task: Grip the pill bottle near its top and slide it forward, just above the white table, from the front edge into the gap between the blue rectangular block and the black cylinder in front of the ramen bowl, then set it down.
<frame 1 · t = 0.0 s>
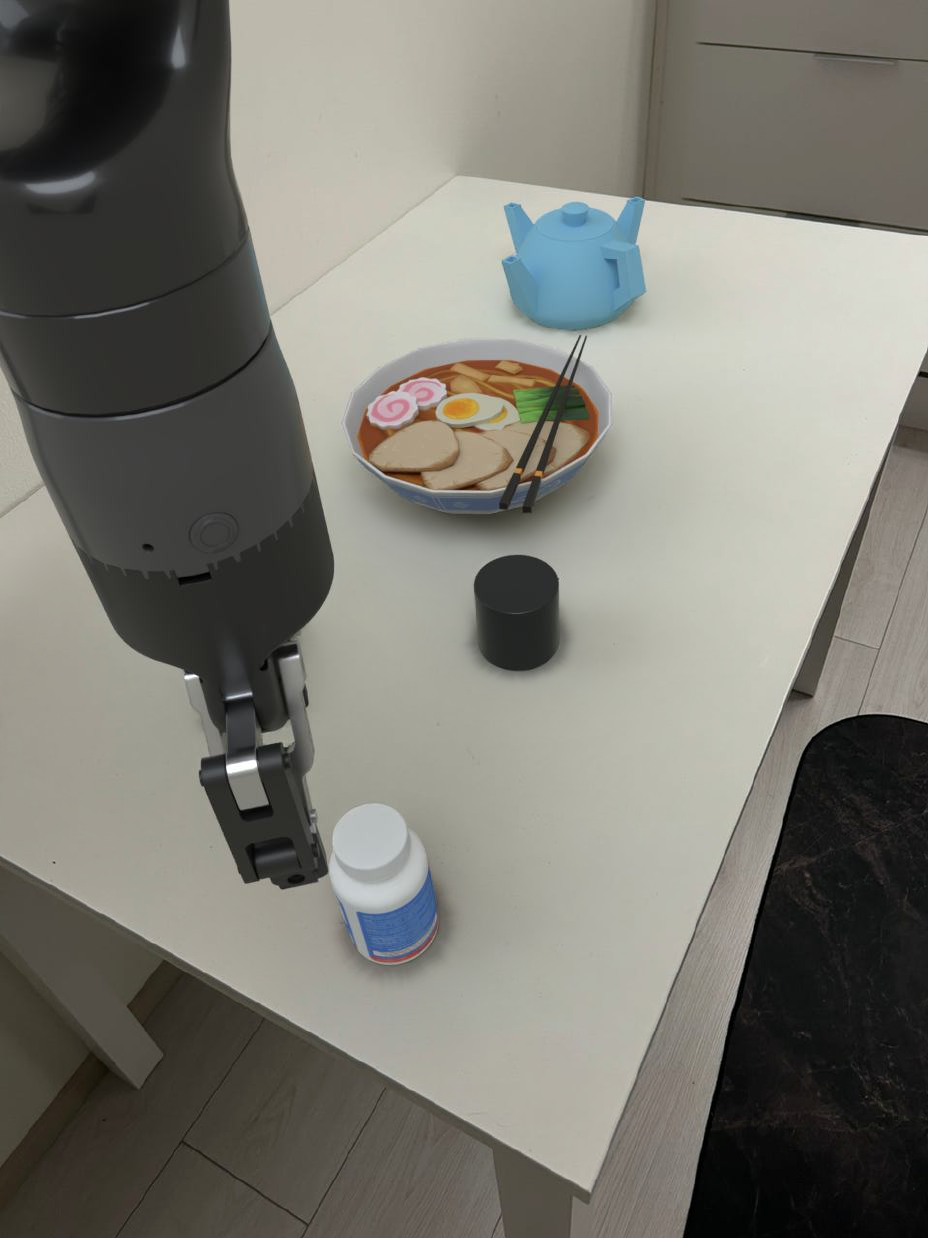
hand: (293, 785, 41), 20 cm above the table, tool pointing down, fingers open, 8 cm apart
ramen bowl: (481, 479, 87), on the table
blue rectangular block: (252, 668, 72), on the table
pill bottle: (394, 925, 58), on the table
teapot: (572, 304, 107), on the table
black cylinder: (518, 640, 73), on the table
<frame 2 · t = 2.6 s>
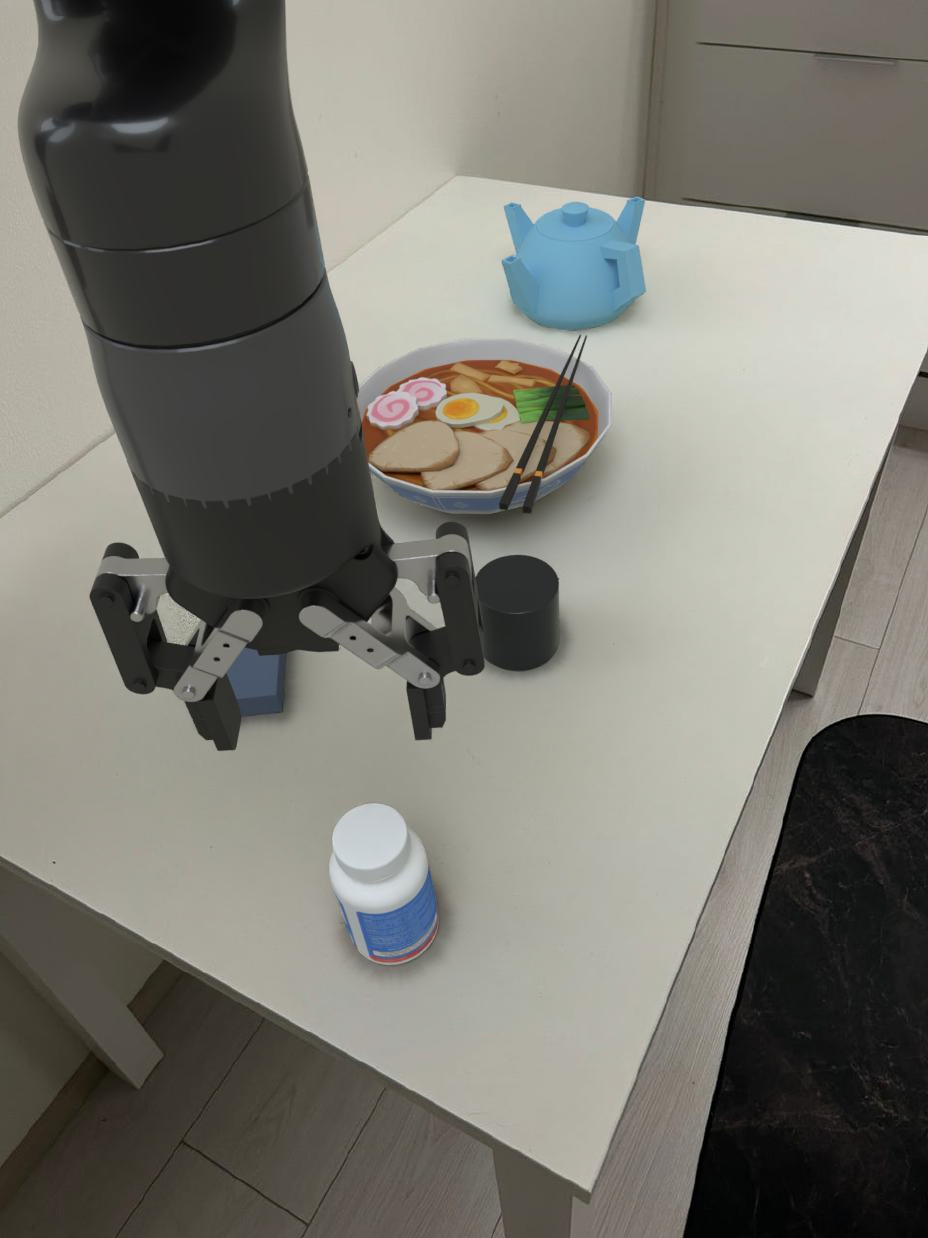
hand: (327, 729, 43), 20 cm above the table, tool pointing down, fingers open, 8 cm apart
nothing on the table moved.
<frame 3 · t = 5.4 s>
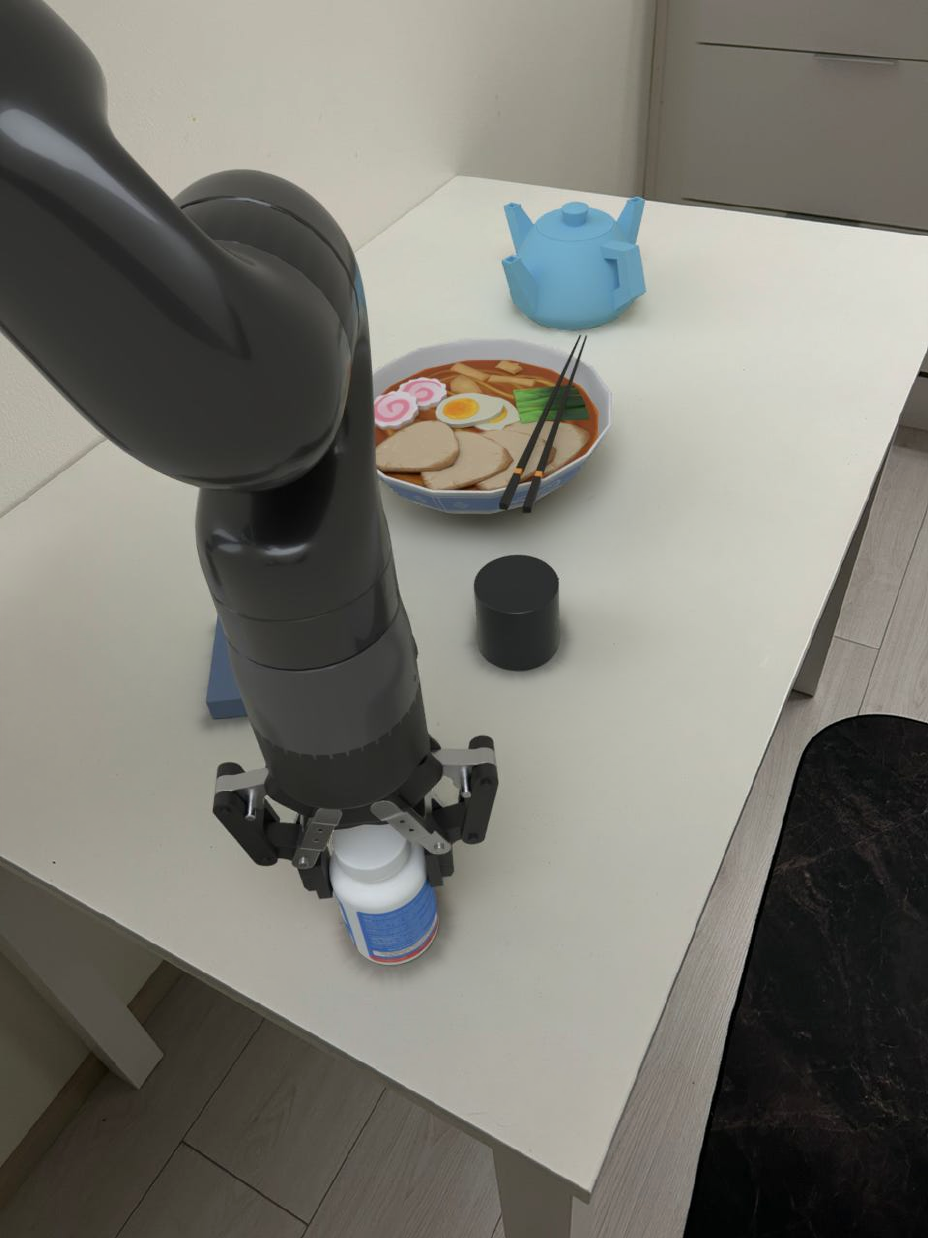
hand: (381, 877, 54), 5 cm above the table, tool pointing down, fingers closed on pill bottle, 5 cm apart
pill bottle: (394, 925, 58), on the table, touching gripper
everything else where it was.
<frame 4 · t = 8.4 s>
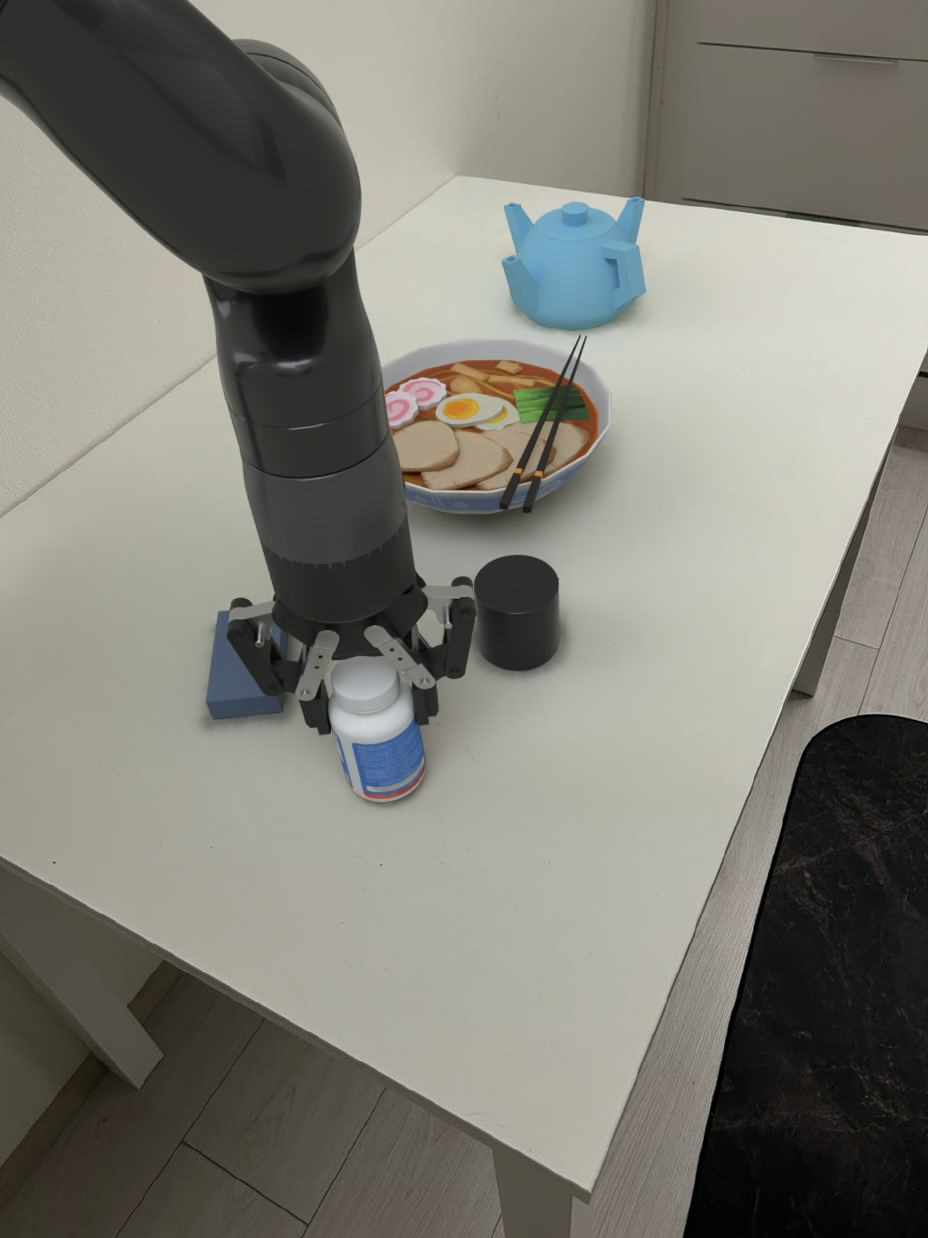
hand: (374, 718, 60), 6 cm above the table, tool pointing down, fingers closed on pill bottle, 5 cm apart
pill bottle: (386, 771, 64), point 1 cm above the table, touching gripper
everything else where it was.
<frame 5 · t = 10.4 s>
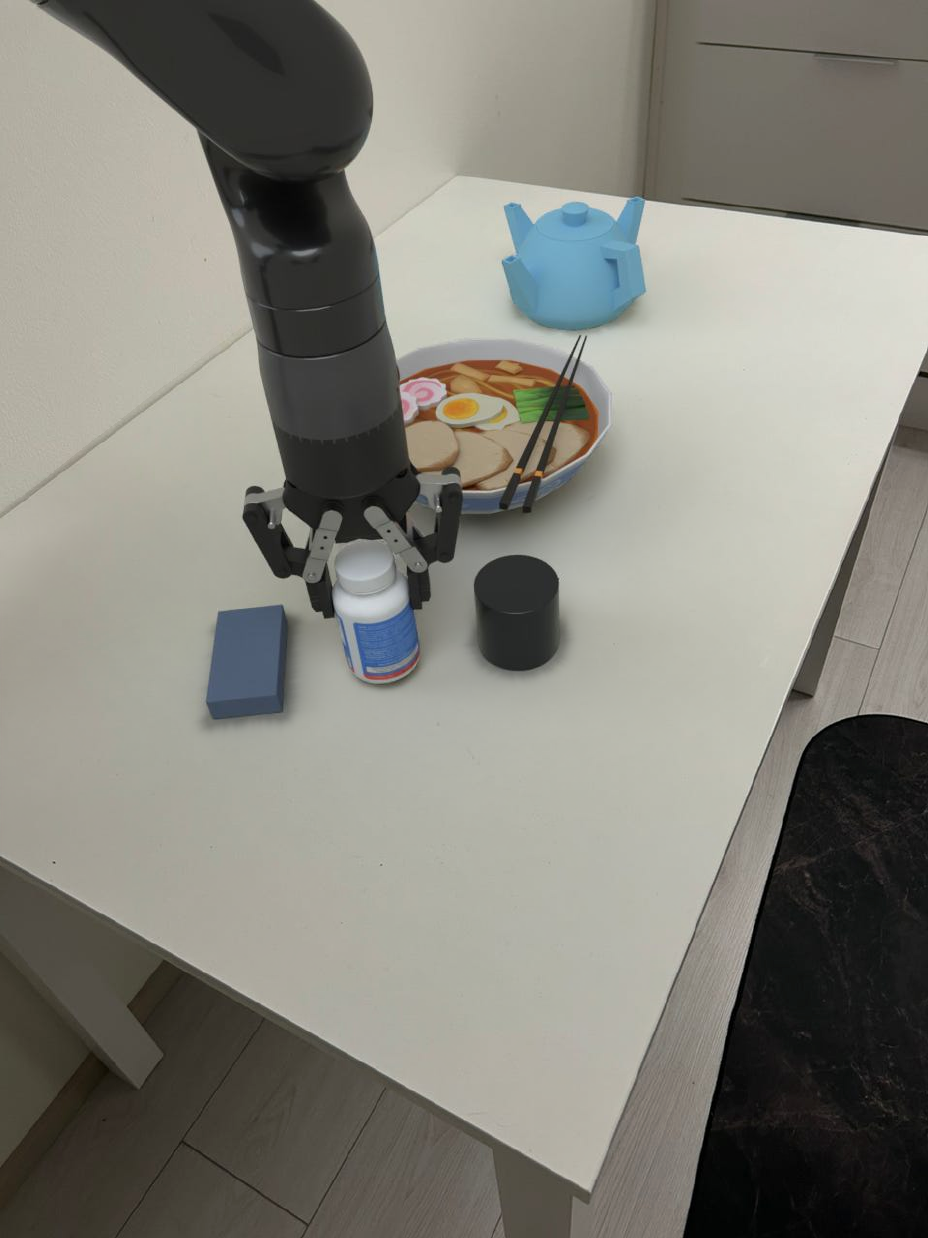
hand: (373, 605, 67), 6 cm above the table, tool pointing down, fingers closed on pill bottle, 5 cm apart
pill bottle: (384, 659, 71), point 1 cm above the table, touching gripper
everything else where it was.
when the fingers open (5 cm above the table, at t = 11.5 s): pill bottle stays where it is, on the table.
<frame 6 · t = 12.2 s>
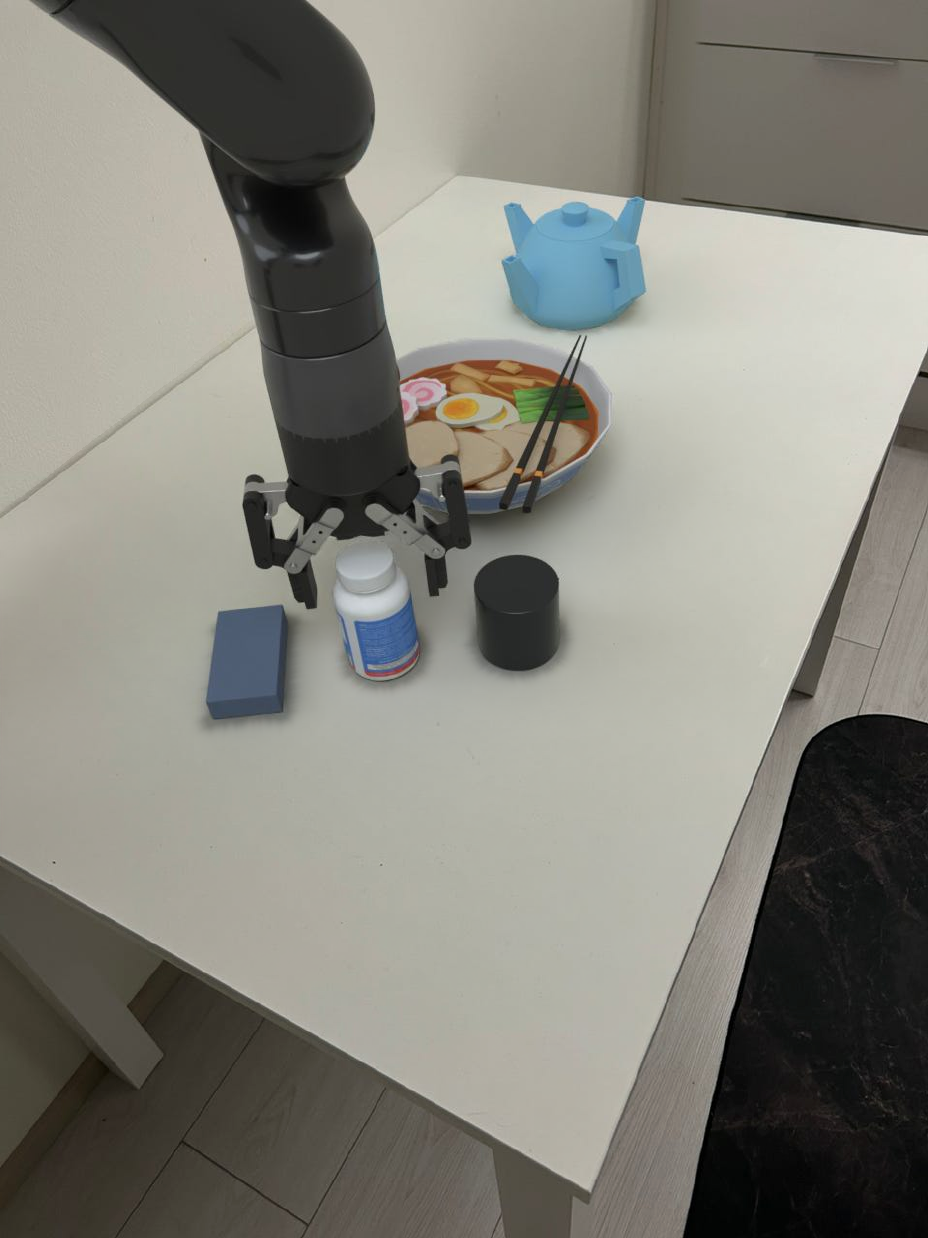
hand: (373, 594, 68), 6 cm above the table, tool pointing down, fingers open, 8 cm apart
pill bottle: (384, 657, 73), on the table
everything else where it was.
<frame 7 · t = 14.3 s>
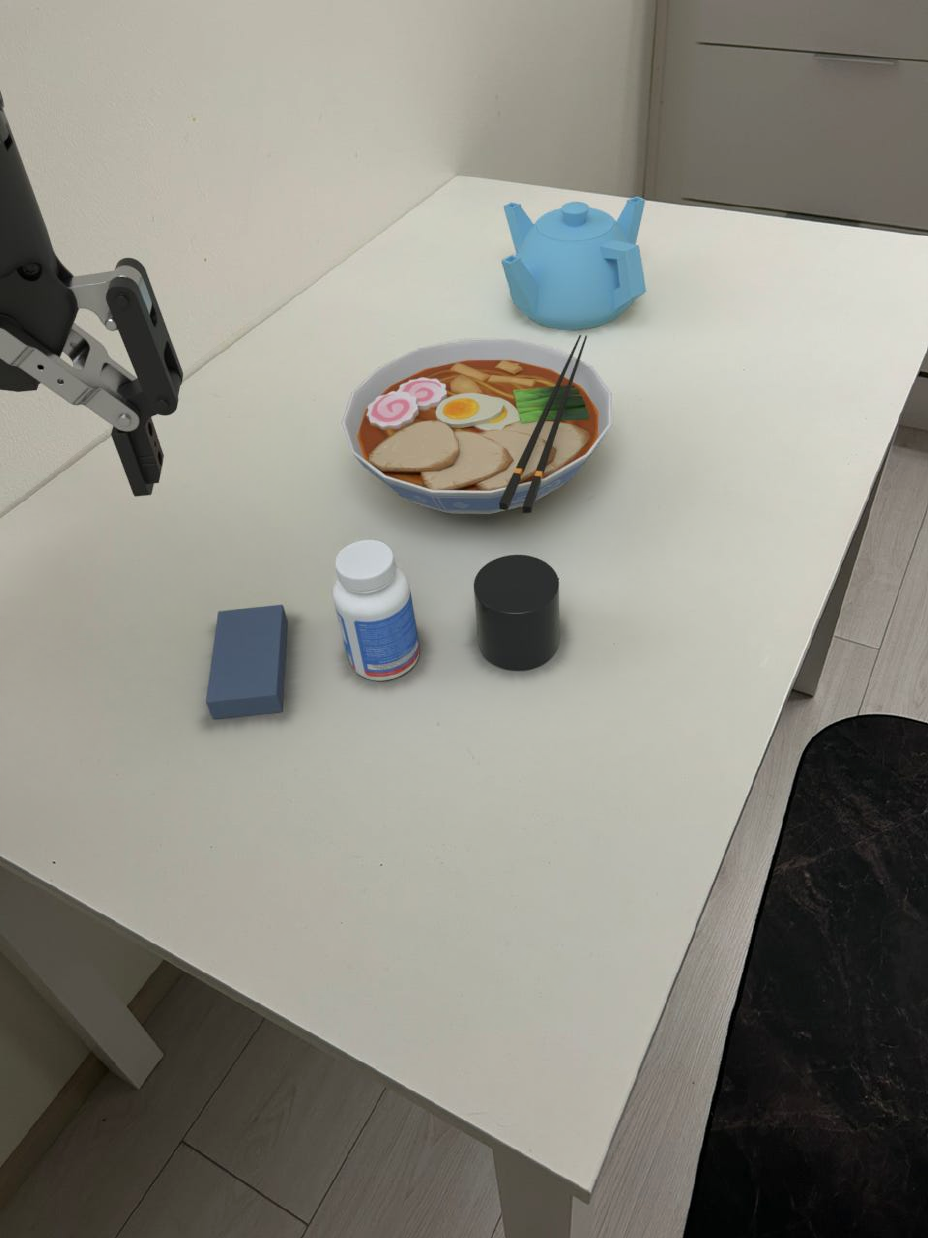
hand: (55, 494, 46), 26 cm above the table, tool pointing down, fingers open, 8 cm apart
nothing on the table moved.
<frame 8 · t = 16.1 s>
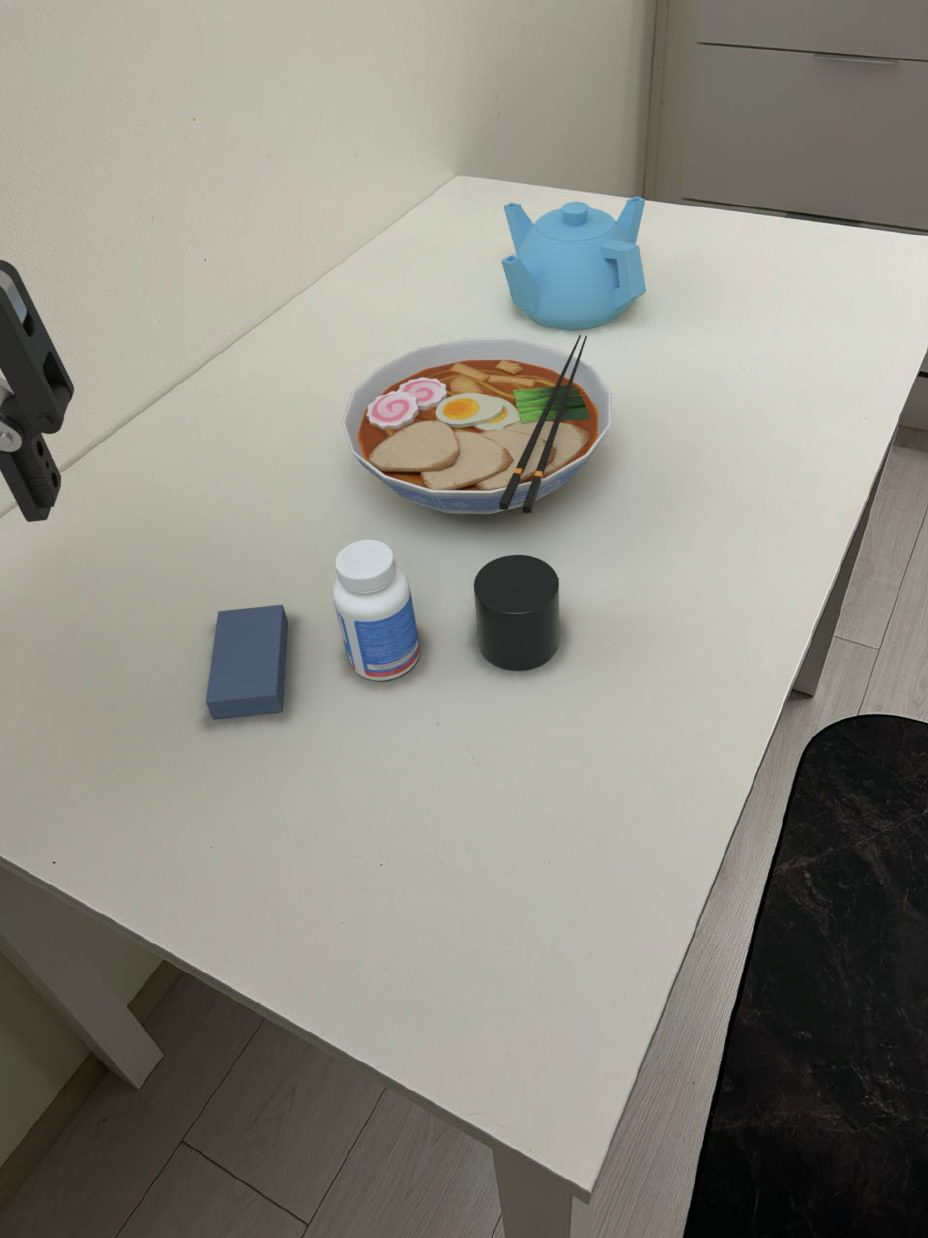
nothing on the table moved.
at the end: pill bottle 0.1 cm from the target spot on the table beside the ramen bowl, on the table; pill bottle tilted 0°; pill bottle moved 21.5 cm from its start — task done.
